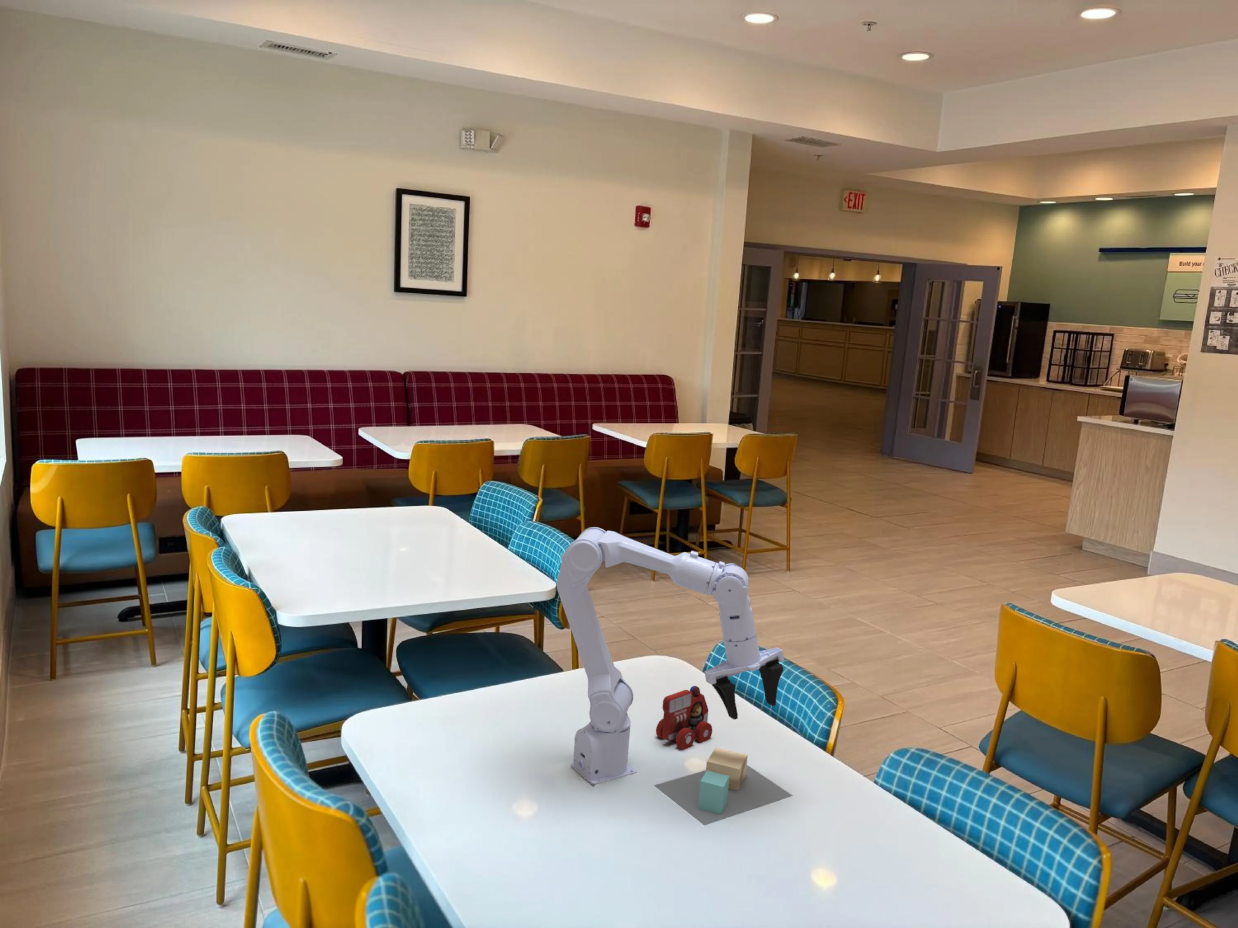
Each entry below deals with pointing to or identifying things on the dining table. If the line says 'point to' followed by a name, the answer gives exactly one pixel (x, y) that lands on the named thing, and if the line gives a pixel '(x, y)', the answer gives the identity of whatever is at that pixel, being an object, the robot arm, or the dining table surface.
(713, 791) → the teal brick
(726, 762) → the base block
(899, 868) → the dining table surface
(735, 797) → the mat
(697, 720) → the toy fire truck
